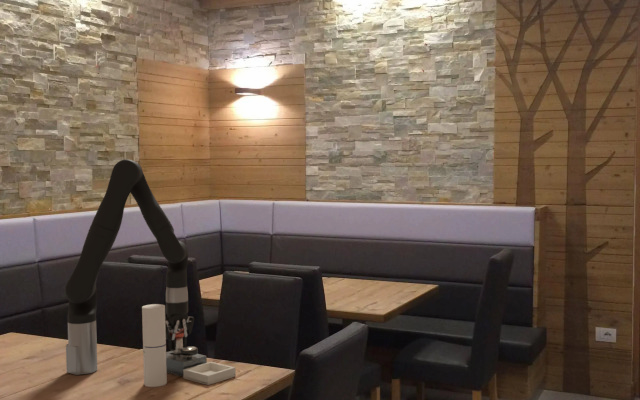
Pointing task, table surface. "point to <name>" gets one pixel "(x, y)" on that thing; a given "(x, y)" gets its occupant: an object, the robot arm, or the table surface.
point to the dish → (209, 373)
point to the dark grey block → (183, 360)
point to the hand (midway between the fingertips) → (177, 348)
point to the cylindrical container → (154, 345)
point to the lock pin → (178, 343)
